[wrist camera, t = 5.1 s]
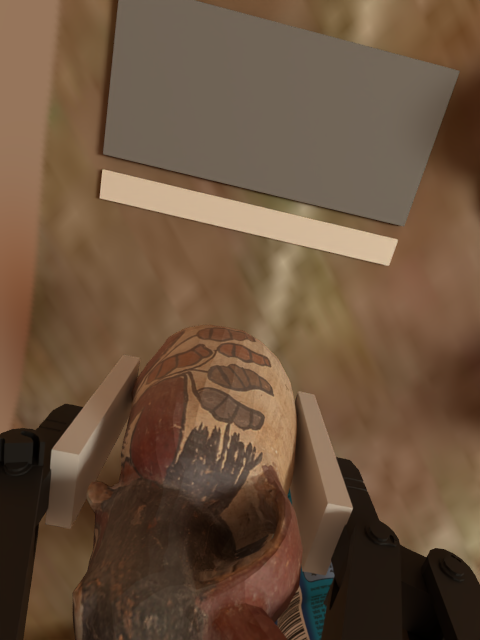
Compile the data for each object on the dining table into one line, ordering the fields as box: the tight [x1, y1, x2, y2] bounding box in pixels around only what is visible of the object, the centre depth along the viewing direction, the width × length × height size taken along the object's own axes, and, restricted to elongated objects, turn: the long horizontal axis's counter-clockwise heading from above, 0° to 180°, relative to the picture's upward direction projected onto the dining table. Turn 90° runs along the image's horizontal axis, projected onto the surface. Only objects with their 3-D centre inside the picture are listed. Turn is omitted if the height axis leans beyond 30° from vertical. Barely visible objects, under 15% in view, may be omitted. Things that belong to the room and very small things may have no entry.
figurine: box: [73, 325, 303, 640], centre depth 12 cm, size 7×7×12 cm
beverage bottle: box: [271, 489, 335, 640], centre depth 27 cm, size 8×8×20 cm
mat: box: [103, 0, 460, 226], centre depth 26 cm, size 10×22×1 cm, turn 77°
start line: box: [100, 169, 398, 266], centre depth 28 cm, size 2×22×1 cm, turn 77°
